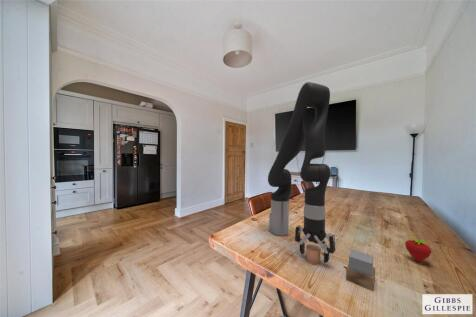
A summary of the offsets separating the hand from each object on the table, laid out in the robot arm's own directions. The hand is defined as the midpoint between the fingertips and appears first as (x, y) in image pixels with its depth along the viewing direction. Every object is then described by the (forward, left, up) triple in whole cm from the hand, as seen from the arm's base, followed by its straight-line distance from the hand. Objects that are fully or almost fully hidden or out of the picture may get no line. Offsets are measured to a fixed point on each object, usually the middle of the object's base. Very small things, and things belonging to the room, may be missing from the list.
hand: (313, 257), depth 68 cm
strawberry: (+30, +27, -1) cm, 40 cm away
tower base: (+15, 0, -2) cm, 15 cm away
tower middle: (+15, 0, +2) cm, 15 cm away
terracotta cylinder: (0, 0, -1) cm, 1 cm away
